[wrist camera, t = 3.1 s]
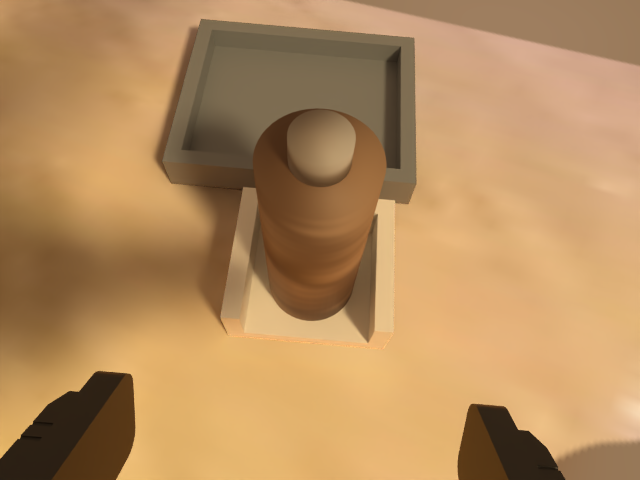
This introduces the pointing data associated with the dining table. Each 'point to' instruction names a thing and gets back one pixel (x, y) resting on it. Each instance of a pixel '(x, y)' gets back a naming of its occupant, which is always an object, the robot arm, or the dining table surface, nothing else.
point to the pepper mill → (316, 206)
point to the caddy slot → (274, 324)
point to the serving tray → (289, 98)
